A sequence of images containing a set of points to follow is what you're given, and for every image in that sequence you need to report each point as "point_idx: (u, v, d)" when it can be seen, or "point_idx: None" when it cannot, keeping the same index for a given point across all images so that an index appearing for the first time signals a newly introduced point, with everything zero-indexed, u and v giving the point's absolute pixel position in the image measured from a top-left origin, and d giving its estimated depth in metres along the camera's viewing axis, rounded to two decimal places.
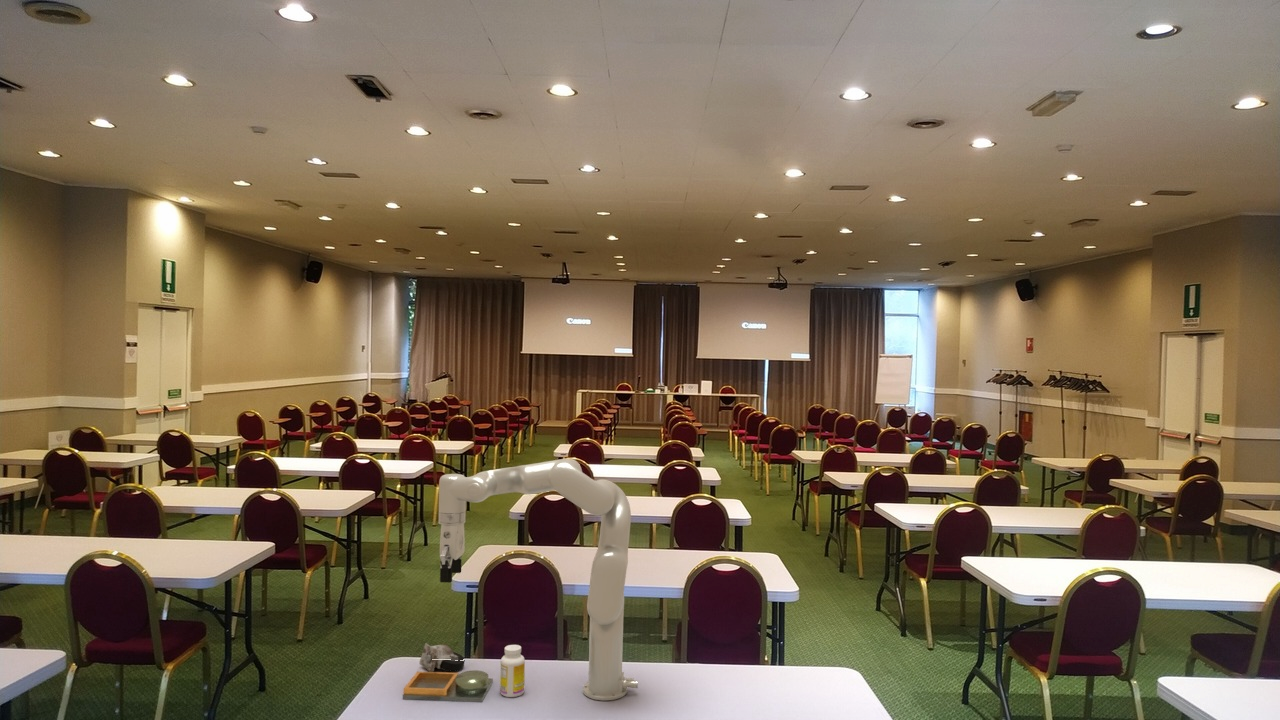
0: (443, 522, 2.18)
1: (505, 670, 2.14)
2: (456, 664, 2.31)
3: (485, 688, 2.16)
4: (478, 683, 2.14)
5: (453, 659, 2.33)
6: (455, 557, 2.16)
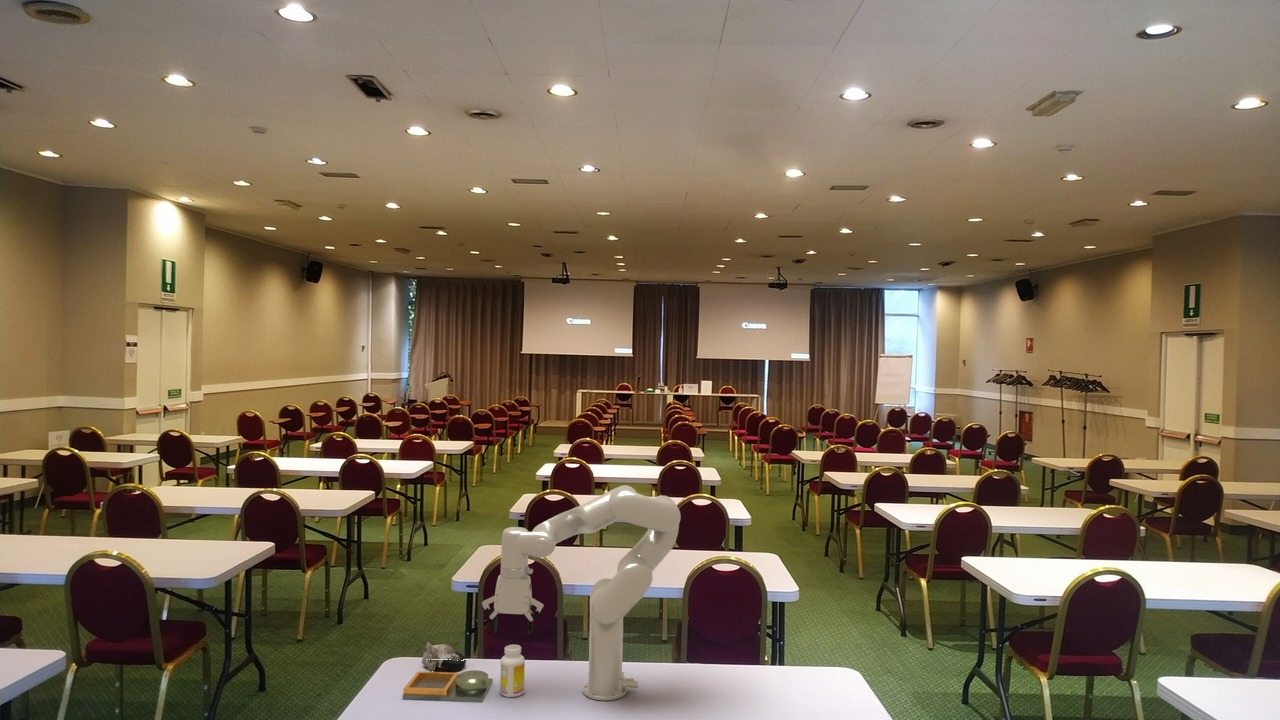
0: (525, 576, 2.16)
1: (505, 670, 2.14)
2: (457, 664, 2.31)
3: (485, 688, 2.16)
4: (478, 683, 2.14)
5: (454, 659, 2.33)
6: None
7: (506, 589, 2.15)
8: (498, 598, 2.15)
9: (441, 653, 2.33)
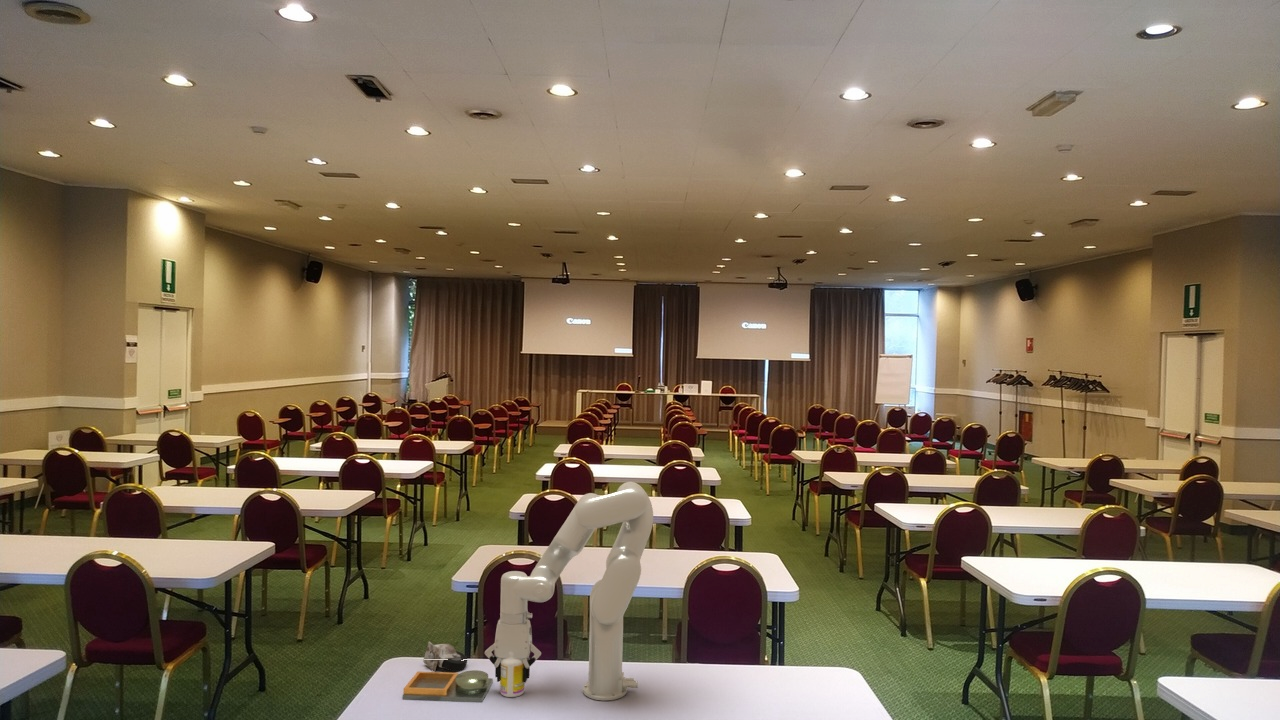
0: (524, 621, 2.16)
1: (505, 670, 2.14)
2: (458, 663, 2.31)
3: (485, 688, 2.16)
4: (478, 683, 2.14)
5: (455, 658, 2.33)
6: None
7: (506, 635, 2.15)
8: (498, 644, 2.15)
9: (442, 652, 2.33)
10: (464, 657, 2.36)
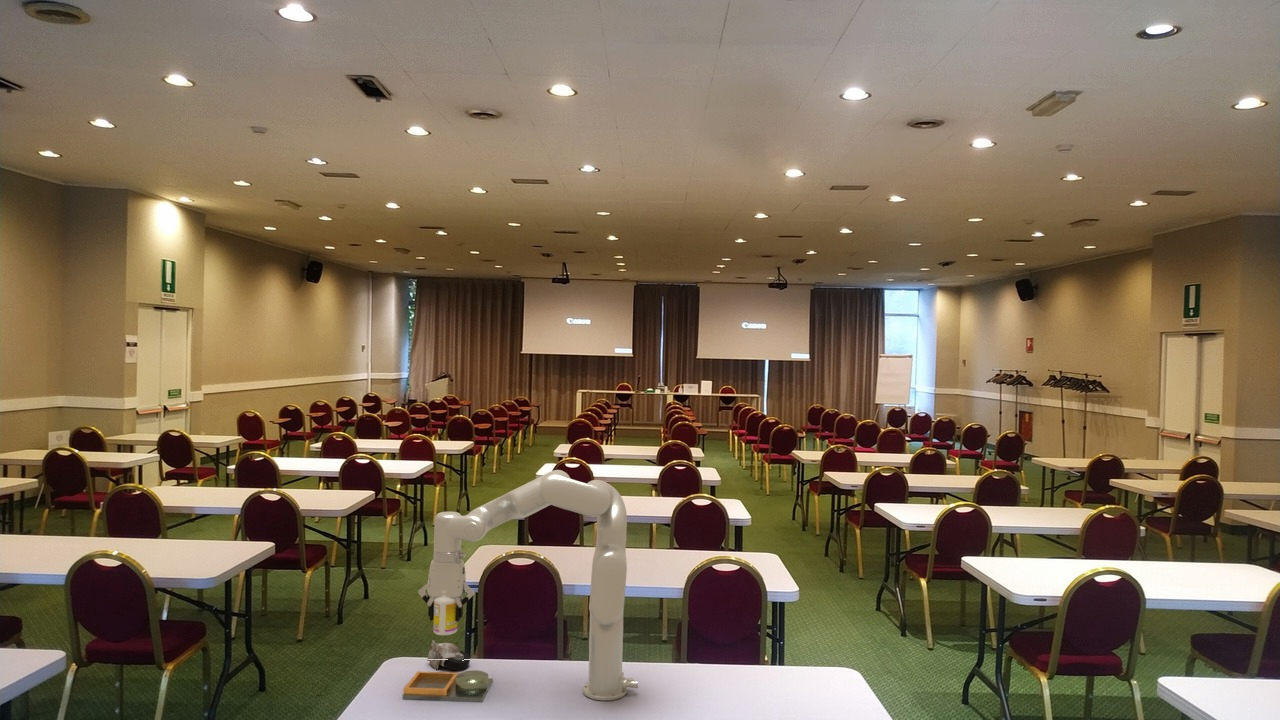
0: (457, 560, 2.16)
1: (437, 609, 2.15)
2: (459, 663, 2.31)
3: (485, 688, 2.16)
4: (478, 683, 2.14)
5: (458, 658, 2.34)
6: None
7: (439, 573, 2.16)
8: (431, 583, 2.16)
9: (445, 651, 2.34)
10: (467, 657, 2.36)
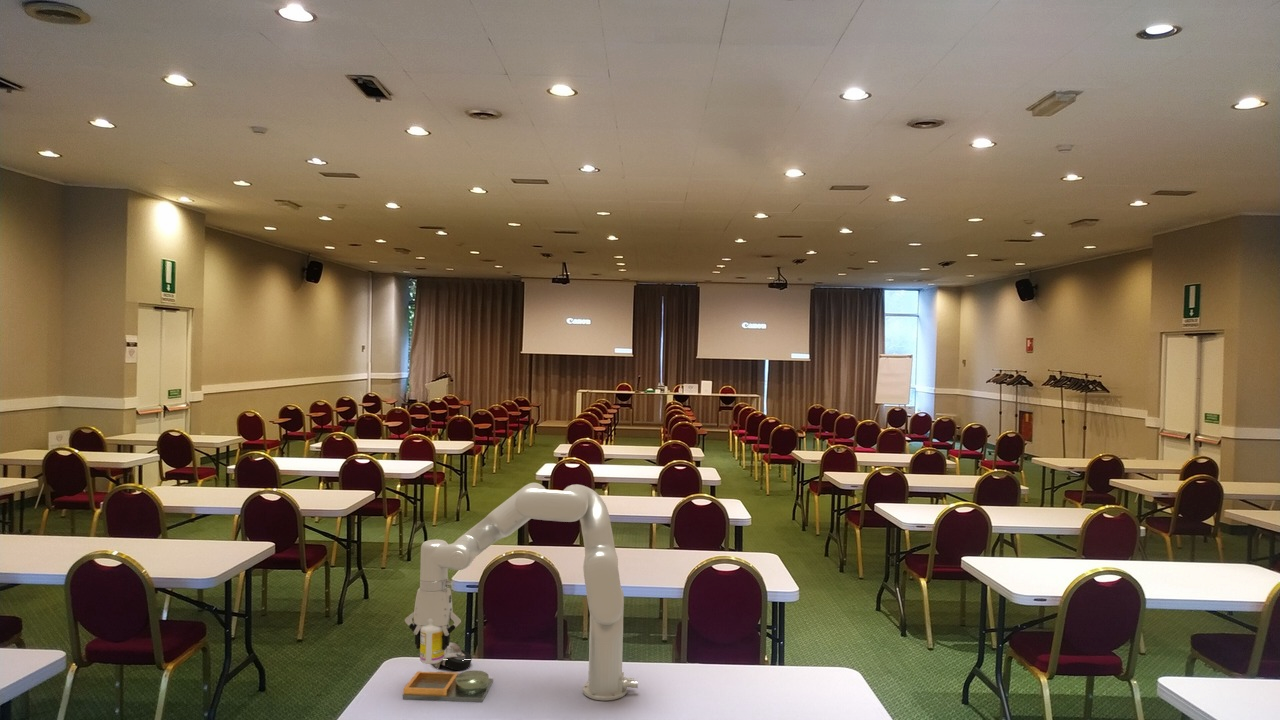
0: (444, 589, 2.17)
1: (424, 637, 2.15)
2: (460, 663, 2.32)
3: (485, 688, 2.16)
4: (478, 683, 2.14)
5: (459, 657, 2.34)
6: None
7: (426, 602, 2.16)
8: (417, 611, 2.16)
9: (446, 651, 2.35)
10: (468, 656, 2.36)
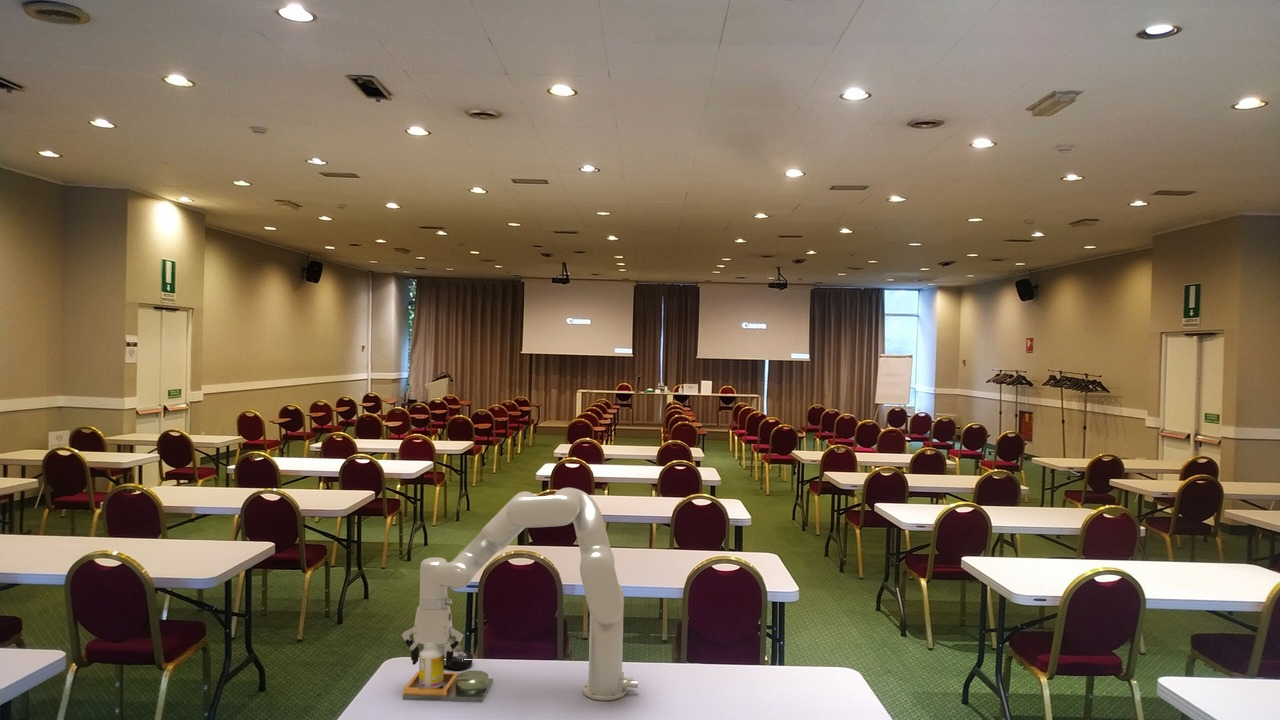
0: (443, 607, 2.17)
1: (423, 663, 2.15)
2: (461, 662, 2.32)
3: (485, 688, 2.16)
4: (478, 683, 2.14)
5: (460, 657, 2.34)
6: None
7: (425, 620, 2.16)
8: (417, 630, 2.16)
9: None
10: (470, 656, 2.36)
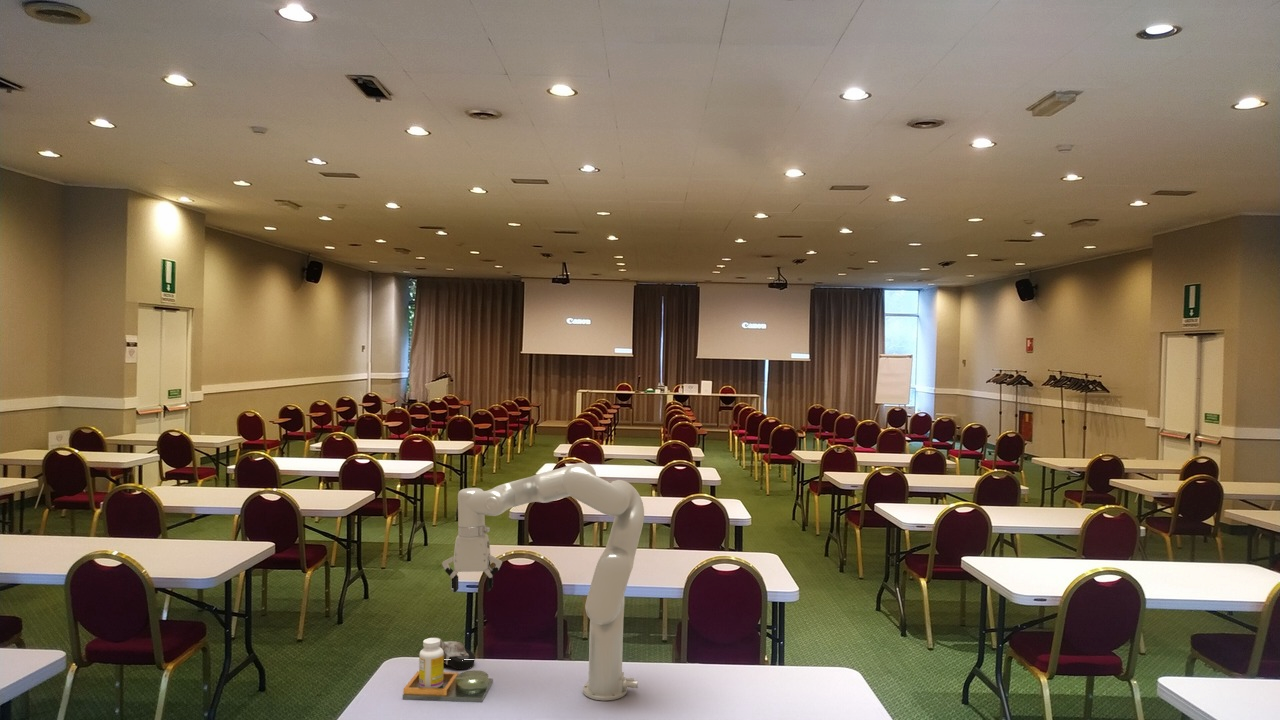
0: (482, 534, 2.22)
1: (423, 663, 2.15)
2: (462, 662, 2.32)
3: (485, 688, 2.16)
4: (478, 683, 2.14)
5: (462, 657, 2.35)
6: None
7: (465, 548, 2.21)
8: (457, 557, 2.21)
9: (450, 650, 2.35)
10: (472, 656, 2.37)
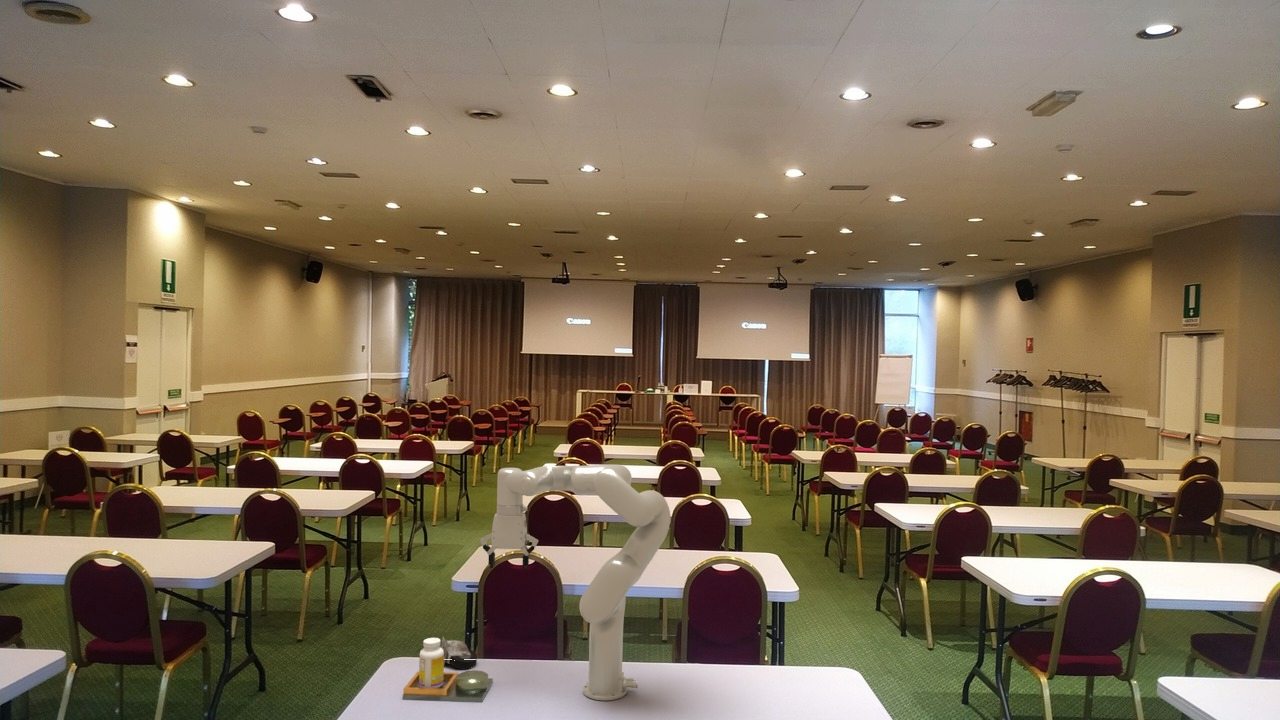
0: (520, 513, 2.27)
1: (423, 663, 2.15)
2: (463, 662, 2.32)
3: (485, 688, 2.16)
4: (478, 683, 2.14)
5: (464, 656, 2.35)
6: None
7: (503, 526, 2.26)
8: (495, 535, 2.26)
9: (452, 649, 2.36)
10: (474, 656, 2.37)
